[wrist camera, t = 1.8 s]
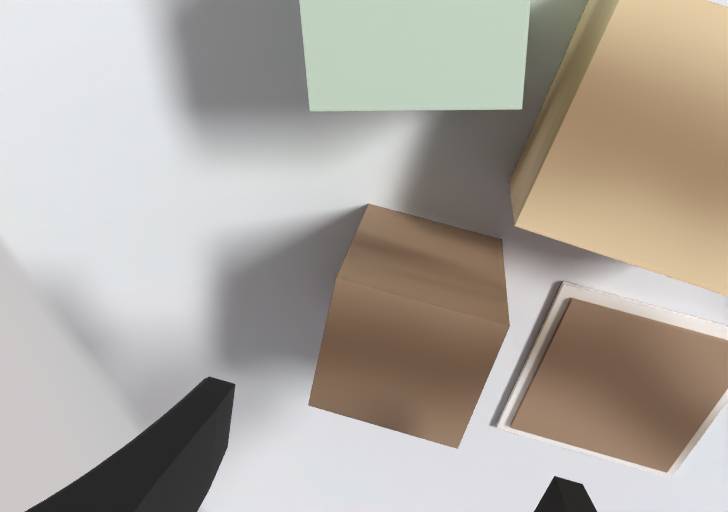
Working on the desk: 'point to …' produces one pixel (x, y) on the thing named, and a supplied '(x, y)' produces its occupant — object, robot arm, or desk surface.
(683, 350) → the tile
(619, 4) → the maple block
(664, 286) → the desk surface
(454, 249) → the walnut block
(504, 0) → the sage block
